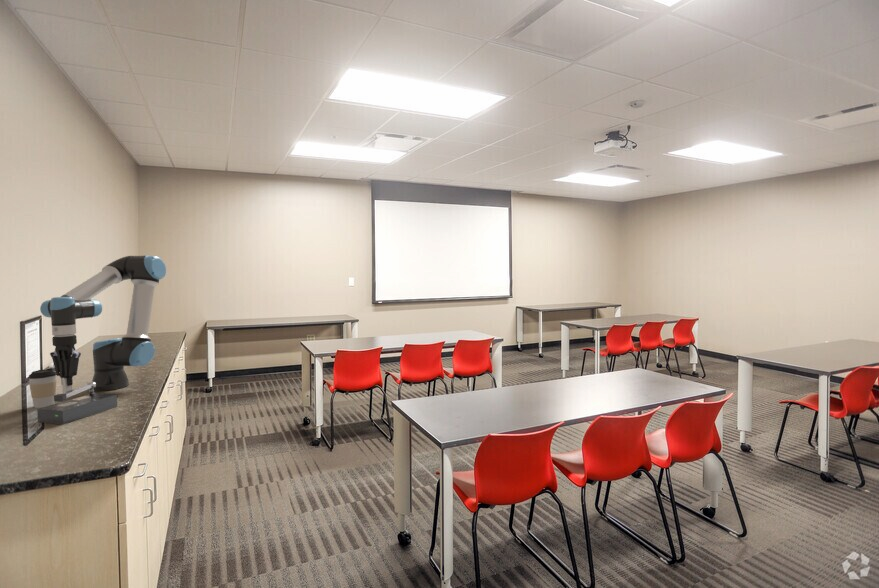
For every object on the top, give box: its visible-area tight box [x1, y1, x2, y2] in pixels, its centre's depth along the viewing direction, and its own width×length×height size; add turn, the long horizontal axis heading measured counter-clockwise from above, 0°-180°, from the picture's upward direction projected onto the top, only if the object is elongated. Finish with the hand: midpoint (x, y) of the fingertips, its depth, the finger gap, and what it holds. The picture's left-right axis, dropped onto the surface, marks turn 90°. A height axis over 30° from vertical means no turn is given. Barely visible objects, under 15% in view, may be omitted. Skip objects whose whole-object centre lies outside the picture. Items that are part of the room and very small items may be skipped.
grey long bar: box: [54, 381, 96, 402], centre depth 182 cm, size 21×3×2 cm, turn 7°
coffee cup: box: [27, 368, 57, 409], centre depth 193 cm, size 9×9×15 cm
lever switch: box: [36, 388, 118, 425], centre depth 181 cm, size 22×12×8 cm, turn 167°
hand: (67, 393), depth 186 cm, fingers closed
